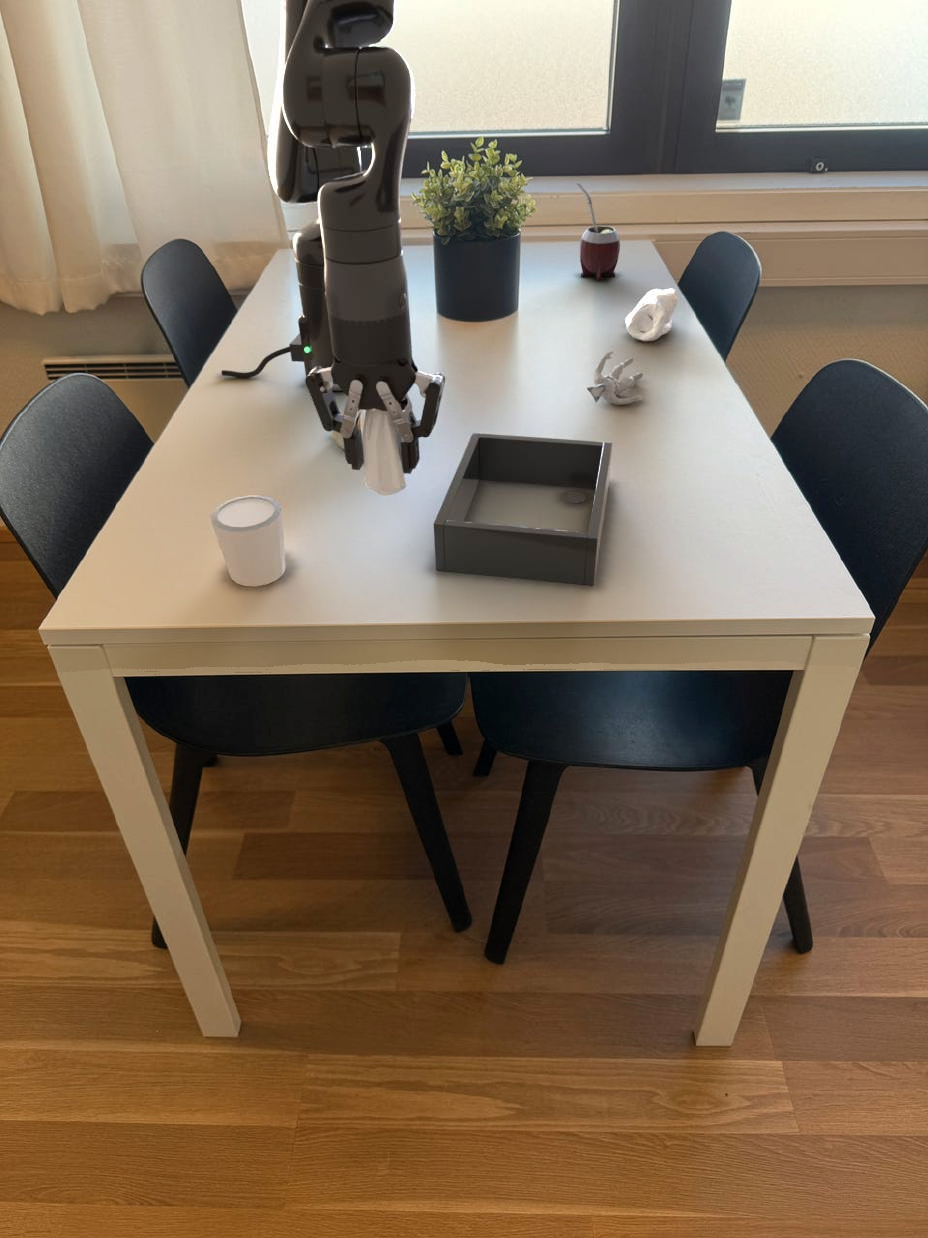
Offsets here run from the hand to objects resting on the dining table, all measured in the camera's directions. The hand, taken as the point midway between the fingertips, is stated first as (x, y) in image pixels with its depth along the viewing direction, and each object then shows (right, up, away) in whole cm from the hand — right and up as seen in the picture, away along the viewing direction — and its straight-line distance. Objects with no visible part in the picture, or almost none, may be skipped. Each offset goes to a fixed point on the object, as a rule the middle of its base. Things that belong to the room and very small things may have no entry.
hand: (383, 467), depth 92 cm
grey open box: (+15, -6, +4) cm, 17 cm away
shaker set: (0, -1, +4) cm, 4 cm away
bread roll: (-4, +7, +21) cm, 23 cm away
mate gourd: (+33, +47, +71) cm, 91 cm away
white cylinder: (-13, -11, -1) cm, 17 cm away
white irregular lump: (+38, +30, +49) cm, 69 cm away
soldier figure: (+29, +15, +30) cm, 44 cm away
